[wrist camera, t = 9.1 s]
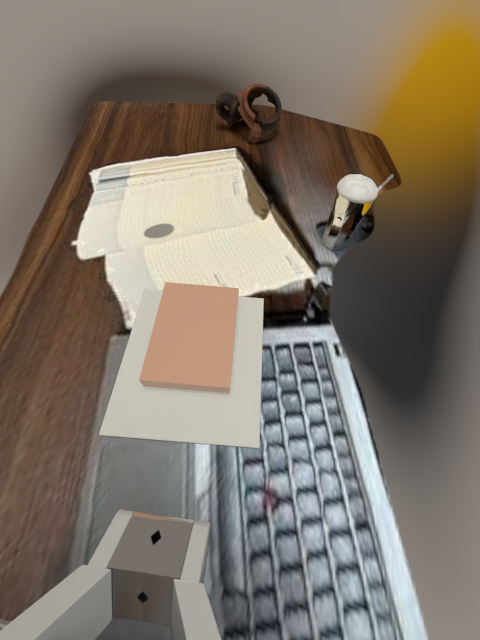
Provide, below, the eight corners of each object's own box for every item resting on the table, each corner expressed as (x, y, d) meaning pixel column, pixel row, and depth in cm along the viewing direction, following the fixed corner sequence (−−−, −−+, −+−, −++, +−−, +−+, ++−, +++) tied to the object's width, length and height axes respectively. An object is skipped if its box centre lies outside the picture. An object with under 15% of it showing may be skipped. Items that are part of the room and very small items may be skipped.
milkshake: (357, 256, 37) (397, 187, 28) (318, 252, 37) (346, 182, 28) (353, 233, 39) (389, 163, 30) (316, 229, 39) (341, 158, 30)
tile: (229, 387, 24) (238, 288, 29) (138, 380, 24) (165, 282, 29) (229, 395, 26) (237, 301, 31) (145, 388, 26) (169, 295, 31)
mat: (258, 448, 24) (259, 447, 24) (100, 435, 24) (98, 434, 24) (263, 300, 32) (263, 298, 32) (145, 290, 32) (144, 288, 32)
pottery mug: (268, 121, 57) (287, 86, 49) (266, 163, 56) (284, 135, 48) (212, 102, 53) (222, 61, 45) (208, 147, 52) (218, 114, 44)
